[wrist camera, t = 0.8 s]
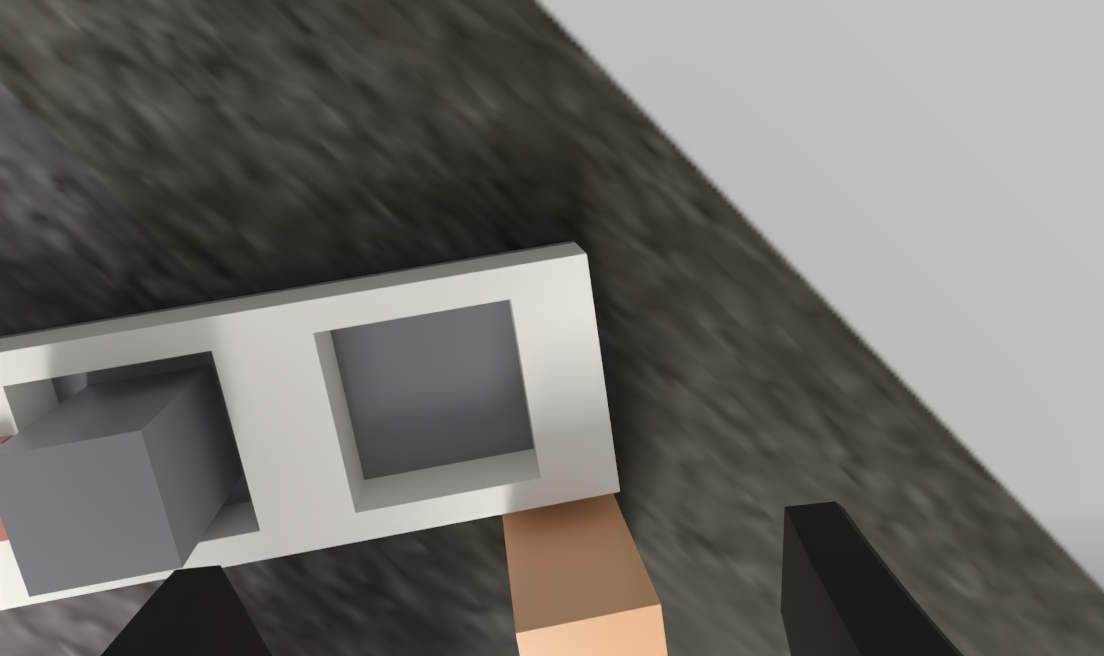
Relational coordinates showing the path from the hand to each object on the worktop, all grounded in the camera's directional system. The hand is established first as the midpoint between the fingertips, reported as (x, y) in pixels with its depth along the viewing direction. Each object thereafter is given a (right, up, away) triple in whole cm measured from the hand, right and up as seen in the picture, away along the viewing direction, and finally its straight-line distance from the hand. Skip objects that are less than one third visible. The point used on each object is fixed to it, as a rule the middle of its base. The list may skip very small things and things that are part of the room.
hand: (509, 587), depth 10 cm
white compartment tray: (-8, +1, +17) cm, 19 cm away
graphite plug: (-12, 0, +16) cm, 20 cm away
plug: (+1, -4, +19) cm, 20 cm away
